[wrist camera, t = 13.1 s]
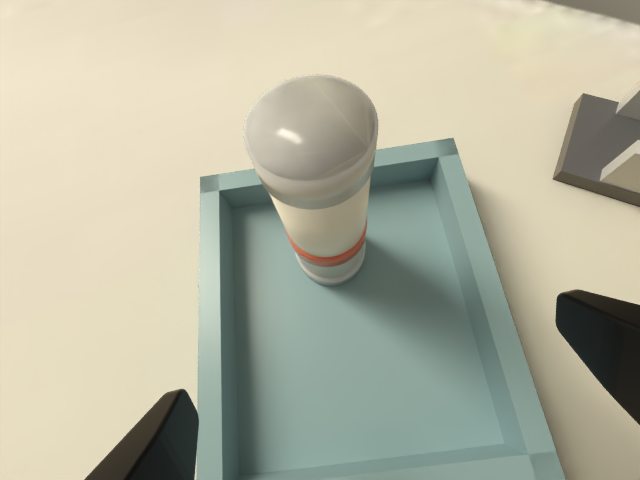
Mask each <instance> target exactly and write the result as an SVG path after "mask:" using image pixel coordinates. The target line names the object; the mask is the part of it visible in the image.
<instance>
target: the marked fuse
mask: <svg viewBox="0 0 640 480" xmlns="http://www.w3.org/2000/svg"><path fill="white" fill-rule="evenodd" d="M377 135H378V117H377V113H376V110H375V107H374V105H373V103H372V101H371V100H370V99H369V97H368V96H367V95H366V94H365V93H364V92H363V91H362V90H361V89H360V88H358V87H357V86H356V85H354V84H352V83H350V82H349V81H346V80H344V79H341V78H338V77H334V76H329V75H319V74H315V75H303V76H298V77H294V78H291V79H288V80H285V81H283V82H281V83H278V84H277V85H275V86H273V87H271V88H270V89H269V90H267V91H266V92H265V93H263V94H262V95H261V96H260V97H259V98H258V99H257V101H256V102H255V103H254V104H253V106H252V107H251V109H250V110H249V112H248V115H247V117H246V120H245V123H244V129H243V139H244V145H245V148H246V151H247V153H248V155H249V157H250V160H251V162H252V164H253V166H254V168H255V170H256V172H257V174H258V177H259V179H260V181H261V183H262V185H263V186H264V187H265V189H266V190H267V191H268V192H269V194H270V196H271V198H272V200H273V203H274V205H275V207H276V209H277V212H278V214H279V216H280V218H281V220H282V223H283V225H284V227H285V230H286V233H287V236H288V238H289V240H290V243H291V245H292V247H293V249H294V250H295V254H296V257H297V260H298V262H299V264H300V266H301V268H302V270H303V272H304V273H305V275H306V276H307V277H308V278H309V279H311V280H312V281H314V282H315V283H317V284H320V285H323V286H338V285H342V284H345V283H347V282H349V281H350V280H352V279H353V278H354V277H355V276H356V275H357V274H358V273H359V271H360V270H361V268H362V266H363V263H364V258H365V249H366V242H365V238H366V230H367V209H368V198H369V187H370V176H371V173H372V171H373V167H374V162H375V154H376V145H377Z"/></svg>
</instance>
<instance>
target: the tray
mask: <svg viewBox="0 0 640 480" xmlns="http://www.w3.org/2000/svg"><path fill="white" fill-rule="evenodd" d="M365 242H366V249H365V258H364V263H363V266H362V268H361V270H360V271H359V273H358V274H357V275H356V276H355V277H354V278H353V279H352V280H350V281H349V282H347V283H345V284H342V285H338V286H323V285H320V284H317V283H315V282H314V281H312V280H311V279H309V278H308V277H307V276H306V275H305V273H304V272H303V270H302V268H301V266H300V264H299V262H298V260H297V257H296V254H295V250H294V249H293V247H292V245H291V243H290V240H289V238H288V236H287V233H286V230H285V227H284V225H283V223H282V220H281V218H280V216H279V214H278V212H277V209H276V207H275V205H274V203H273V200H272V198H271V196H270V194H269V192H268V191H267V190H266V189H265V187H264V186H263V185H262V183H261V181H260V179H259V177H258V174H257V172H256V170H255V169H249V170H243V171H236V172H230V173H223V174H217V175H210V176H204V177H200V241H199V326H198V411H197V413H198V416H199V430H198V441H197V480H566V479H565V476H564V473H563V470H562V467H561V464H560V461H559V458H558V455H557V452H556V449H555V446H554V443H553V440H552V437H551V434H550V430H549V427H548V424H547V421H546V418H545V415H544V412H543V409H542V406H541V403H540V400H539V397H538V394H537V391H536V388H535V385H534V382H533V379H532V376H531V373H530V370H529V367H528V364H527V361H526V357H525V354H524V351H523V348H522V345H521V342H520V339H519V336H518V333H517V330H516V327H515V324H514V321H513V318H512V315H511V312H510V309H509V306H508V303H507V300H506V297H505V294H504V291H503V288H502V285H501V281H500V278H499V275H498V272H497V269H496V266H495V263H494V260H493V257H492V254H491V251H490V248H489V245H488V242H487V239H486V236H485V233H484V230H483V227H482V224H481V221H480V218H479V215H478V212H477V208H476V205H475V202H474V199H473V196H472V193H471V190H470V187H469V184H468V181H467V178H466V175H465V172H464V169H463V166H462V163H461V160H460V157H459V154H458V151H457V148H456V145H455V142H454V139H453V138H450V139H443V140H437V141H430V142H424V143H418V144H411V145H405V146H398V147H392V148H385V149H379V150H376V154H375V162H374V167H373V171H372V173H371V176H370V187H369V198H368V209H367V230H366V238H365Z"/></svg>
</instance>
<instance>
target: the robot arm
mask: <svg viewBox="0 0 640 480" xmlns="http://www.w3.org/2000/svg"><path fill="white" fill-rule="evenodd" d="M556 326H557V328H558V330H559V332H560V333H561V335H562V336H563V337H564V338H565V340H566V341H567V342H568V343H569V345H570V346H571V347H572V348H573V350H574V351H575V352H576V353H577V355H578V356H579V357H580V358H581V360H582V361H583V362H584V363H585V365H586V366H587V367H588V368H589V370H590V371H591V372H592V373H593V375H594V376H595V377H596V378H597V380H598V381H599V382H600V383H601V384H602V385H603V387H604V388H605V389H606V390H607V391H608V392H609V393H610V394H611V396H612V397H613V398H614V399H615V400H616V401H617V402H618V403H619V404H620V405H621V406H622V407H623V408H624V409H625V410H626V411H627V412H628V413H629V414H630V416H631V417H632V418H633V419H634V420H635V421H636V422H637V423H638V424H639V425H640V305H637V304H633V303H629V302H626V301H622V300H618V299H614V298H610V297H606V296H602V295H598V294H594V293H590V292H586V291H583V290H571V291H567V292H563V293H560V294H559V295H558V297H557V303H556ZM198 430H199V416H198V413H197V410H196V408H195V407H194V405H193V403H192V401H191V399H190V397H189V395H188V393H187V392H186V390H184V389H178V390H174V391H171V392H167V393H166V394H164V395H163V396H162V397H161V398H160V399H159V401H158V402H157V403H156V404H155V405H154V406H153V407H152V408H151V409H150V410H149V411H148V412H147V413H146V414H145V415H144V417H143V418H142V419H141V420H140V421H139V422H138V423H137V424H136V425H135V426H134V427H133V428H132V429H131V430H130V431H129V433H128V434H127V435H126V436H125V437H124V438H123V439H122V440H121V441H120V442H119V443H118V444H117V445H116V446H115V447H114V449H113V450H112V451H111V452H110V453H109V454H108V455H107V456H106V457H105V458H104V459H103V460H102V461H101V462H100V463H99V465H98V466H97V467H96V468H95V469H94V470H93V471H92V472H91V473H90V474H89V475H88V476H87V477H86V478H85V479H84V480H194V476H195V464H196V453H197V441H198Z"/></svg>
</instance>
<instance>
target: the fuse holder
mask: <svg viewBox="0 0 640 480" xmlns="http://www.w3.org/2000/svg"><path fill="white" fill-rule="evenodd" d="M553 179H555V180H558V181H561V182H564V183H567V184H570V185H574V186H577V187H580V188H583V189H586V190H589V191H593V192H596V193H599V194H602V195H605V196H608V197H612V198H615V199H618V200H621V201H624V202H627V203H630V204H634V205H637V206H640V82H639V83H638V84H637V85H636V86H635V87H634V88H633V89H632V90H631V91H630V92H629V93H628V94H627V95H626V96H625V97H624V98H623V99H622V100H621V101H620V102H615V101H611V100H608V99H604V98H600V97H596V96H592V95H588V94H584V93H583V94H582V95H581V96H580V98H579V99H578V100H577V101H576V103H575V104H574V108H573V111H572V115H571V118H570V121H569V125H568V128H567V132H566V135H565V139H564V142H563V145H562V149H561V152H560V156H559V159H558V163H557V166H556V170H555V173H554V176H553Z"/></svg>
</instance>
